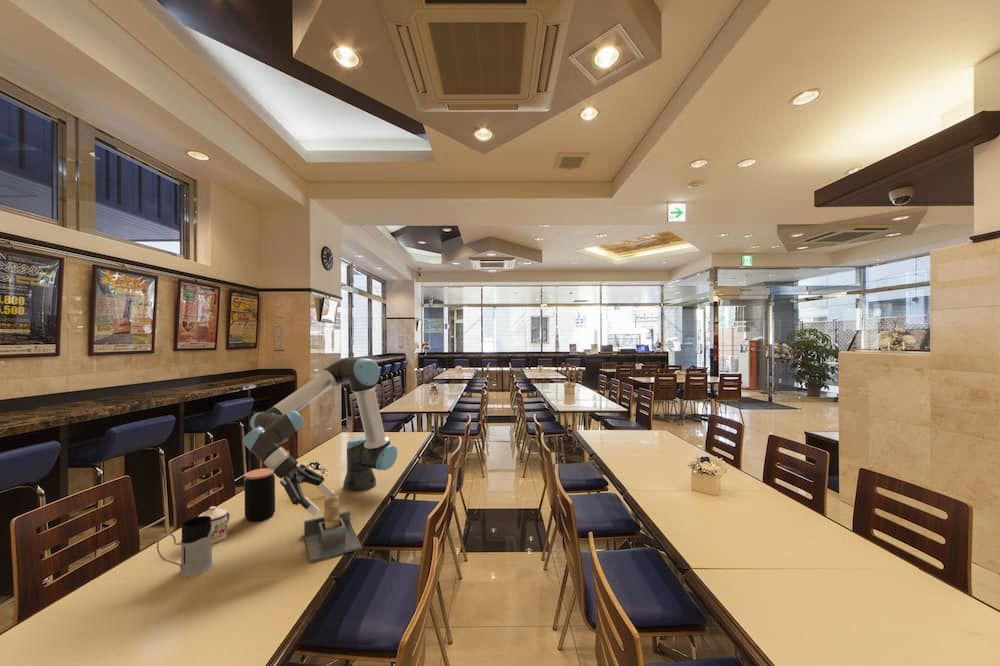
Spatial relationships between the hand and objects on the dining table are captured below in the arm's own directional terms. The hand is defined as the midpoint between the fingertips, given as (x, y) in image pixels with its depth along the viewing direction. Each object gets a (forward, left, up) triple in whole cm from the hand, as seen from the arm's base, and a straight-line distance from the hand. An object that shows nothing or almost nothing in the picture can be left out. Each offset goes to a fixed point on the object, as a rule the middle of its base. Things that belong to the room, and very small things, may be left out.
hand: (324, 504), depth 144 cm
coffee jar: (+20, -36, -14) cm, 43 cm away
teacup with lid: (+34, -25, -14) cm, 44 cm away
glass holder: (+40, -3, -14) cm, 42 cm away
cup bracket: (-2, +1, -13) cm, 14 cm away
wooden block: (-2, +1, -12) cm, 13 cm away
